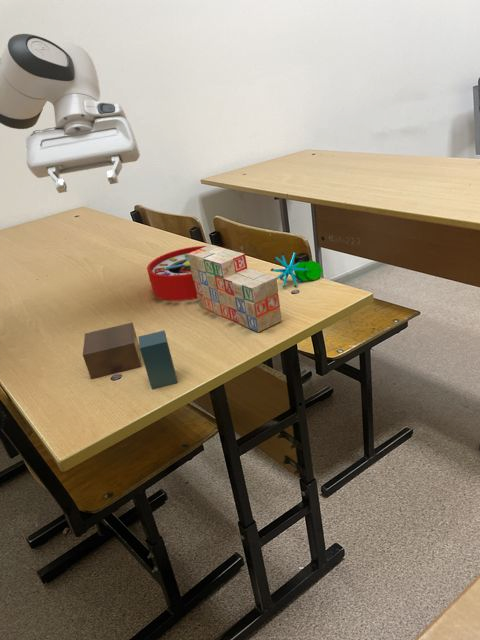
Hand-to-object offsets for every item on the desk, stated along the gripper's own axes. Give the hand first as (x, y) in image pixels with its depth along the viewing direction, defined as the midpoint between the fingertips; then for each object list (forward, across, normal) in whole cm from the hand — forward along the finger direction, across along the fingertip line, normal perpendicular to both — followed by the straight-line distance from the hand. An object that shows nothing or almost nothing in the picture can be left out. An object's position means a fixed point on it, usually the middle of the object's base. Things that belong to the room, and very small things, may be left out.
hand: (87, 186), depth 96 cm
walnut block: (+30, -1, +11) cm, 32 cm away
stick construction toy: (+14, +37, +28) cm, 48 cm away
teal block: (+38, +8, +4) cm, 39 cm away
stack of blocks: (+23, +23, +19) cm, 37 cm away
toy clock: (+7, +14, +35) cm, 38 cm away
